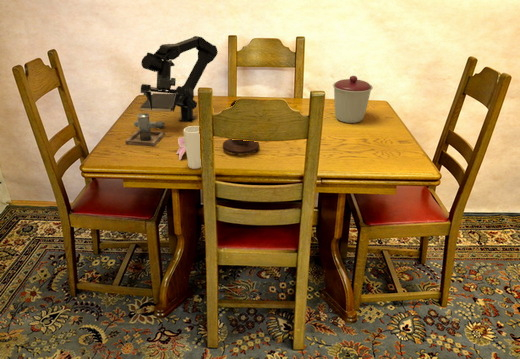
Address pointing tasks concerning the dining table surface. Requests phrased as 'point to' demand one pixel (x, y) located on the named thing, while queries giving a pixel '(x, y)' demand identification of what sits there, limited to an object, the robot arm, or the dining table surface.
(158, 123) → the grey ratchet handle
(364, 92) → the canister
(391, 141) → the dining table surface
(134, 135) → the taupe tray
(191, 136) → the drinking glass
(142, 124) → the polished metal cylinder
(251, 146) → the dark round disc base
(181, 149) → the lily
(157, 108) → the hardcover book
